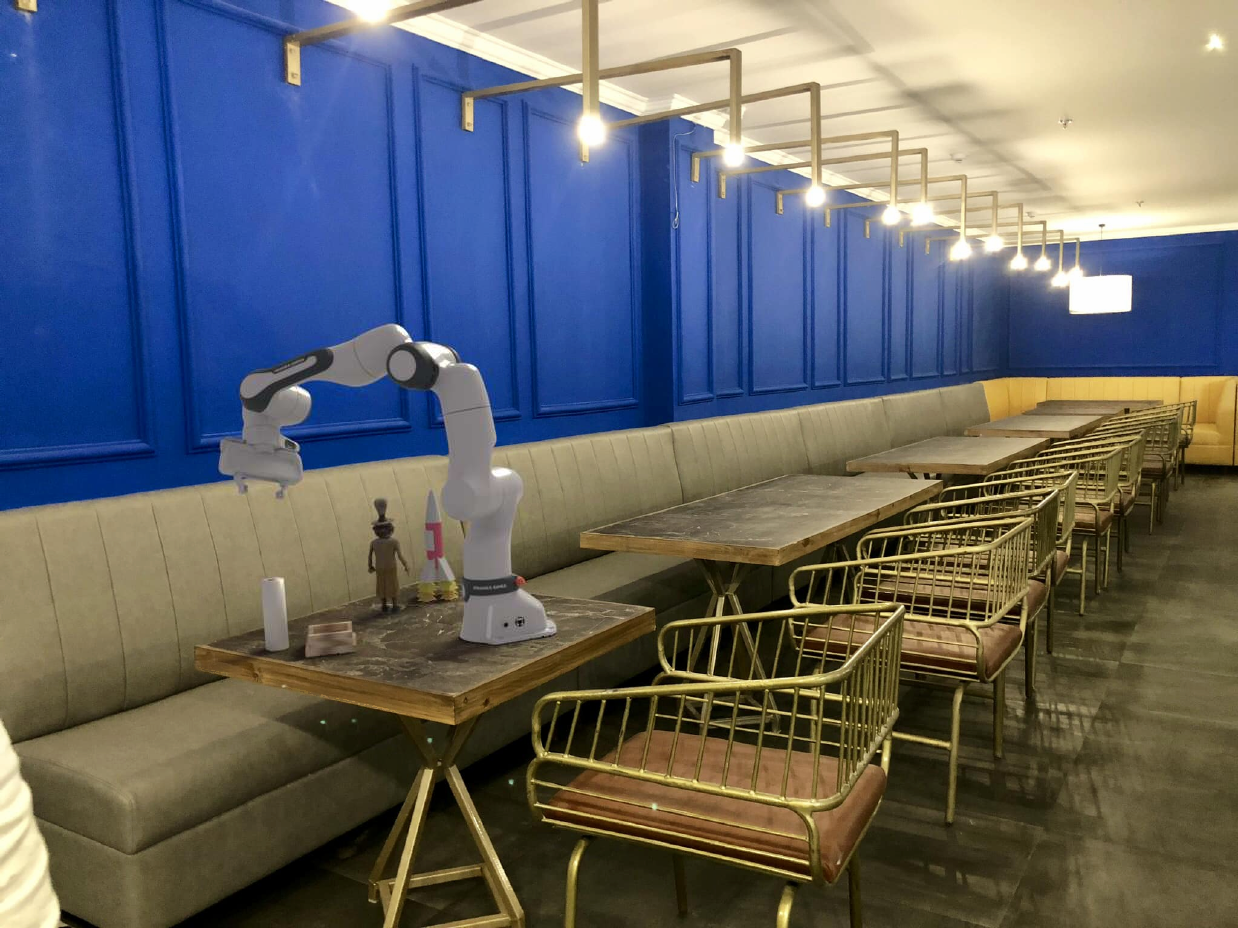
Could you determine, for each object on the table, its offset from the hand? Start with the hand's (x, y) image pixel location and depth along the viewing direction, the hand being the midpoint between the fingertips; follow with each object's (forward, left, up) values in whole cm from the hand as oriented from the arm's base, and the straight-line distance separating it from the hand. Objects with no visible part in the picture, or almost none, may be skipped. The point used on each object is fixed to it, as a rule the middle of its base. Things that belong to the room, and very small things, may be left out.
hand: (261, 495), depth 239 cm
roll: (-2, +16, -34) cm, 37 cm away
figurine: (-29, -9, -34) cm, 46 cm away
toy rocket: (-42, -19, -34) cm, 57 cm away
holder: (-14, +21, -34) cm, 42 cm away
